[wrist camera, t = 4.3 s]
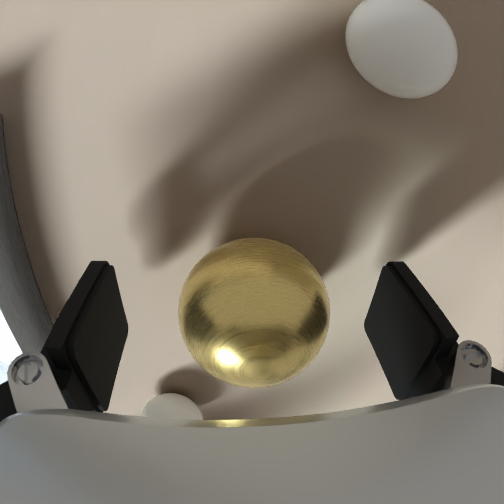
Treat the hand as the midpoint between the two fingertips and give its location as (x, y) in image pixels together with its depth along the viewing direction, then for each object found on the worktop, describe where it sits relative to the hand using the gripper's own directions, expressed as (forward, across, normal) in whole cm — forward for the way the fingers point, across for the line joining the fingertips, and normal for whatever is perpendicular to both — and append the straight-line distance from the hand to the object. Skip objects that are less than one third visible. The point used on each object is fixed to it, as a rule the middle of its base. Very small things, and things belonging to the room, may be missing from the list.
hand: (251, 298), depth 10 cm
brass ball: (0, 0, 0) cm, 1 cm away
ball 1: (0, +4, +9) cm, 10 cm away
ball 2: (+1, -4, -9) cm, 10 cm away
